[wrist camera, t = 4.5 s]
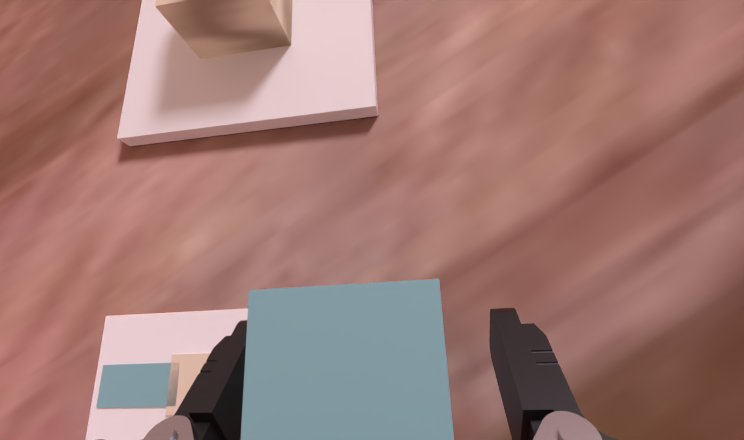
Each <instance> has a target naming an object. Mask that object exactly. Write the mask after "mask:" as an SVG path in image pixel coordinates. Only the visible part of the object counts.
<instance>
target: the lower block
mask: <svg viewBox="0 0 744 440" xmlns="http://www.w3.org/2000/svg"><path fill="white" fill-rule="evenodd" d="M292 1H293V0H156V2H155V7H156V8H157V9H158V10H159V12H160V13H161V14H162V15H163V16H164V17H165V19H166V20H167V21H168V22H169V23H170V24H171V26H172V27H173V28H174V29H175V30H176V31H177V33H178V34H179V35H180V36H181V37H182V38H183V40H184V41H185V42H186V43H187V44H188V45H189V46H190V48H191V49H192V50H193V51H194V52H195V53H196V55H197V56H198V57H199V58H200V59H205V58H211V57H218V56H224V55H231V54H237V53H244V52H250V51H256V50H263V49H269V48H276V47H282V46H289V45H291V36H292Z"/></svg>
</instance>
